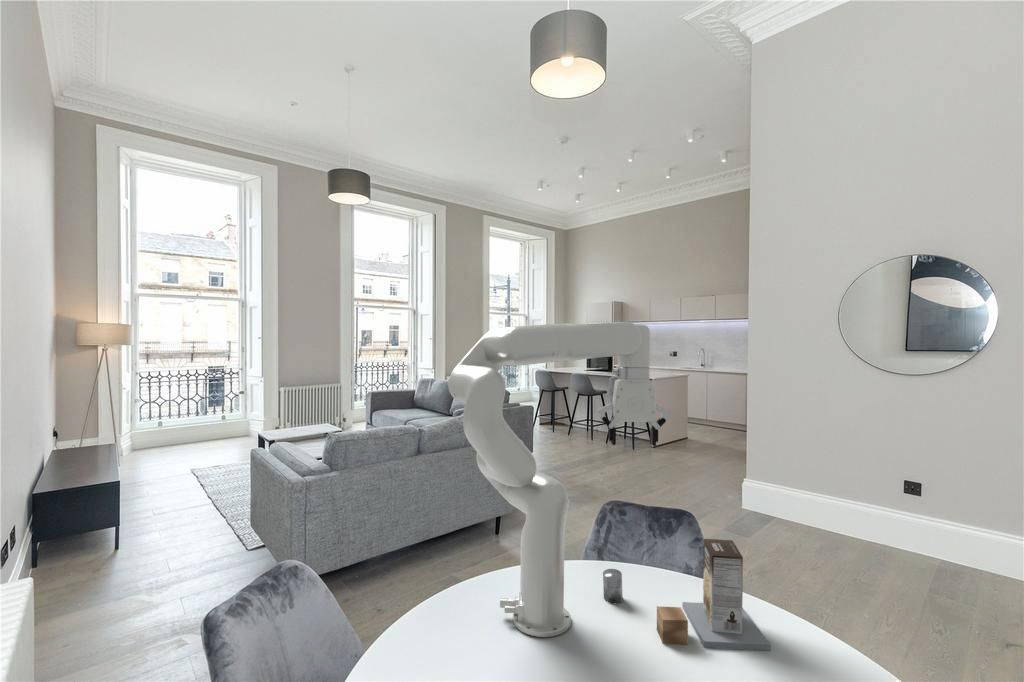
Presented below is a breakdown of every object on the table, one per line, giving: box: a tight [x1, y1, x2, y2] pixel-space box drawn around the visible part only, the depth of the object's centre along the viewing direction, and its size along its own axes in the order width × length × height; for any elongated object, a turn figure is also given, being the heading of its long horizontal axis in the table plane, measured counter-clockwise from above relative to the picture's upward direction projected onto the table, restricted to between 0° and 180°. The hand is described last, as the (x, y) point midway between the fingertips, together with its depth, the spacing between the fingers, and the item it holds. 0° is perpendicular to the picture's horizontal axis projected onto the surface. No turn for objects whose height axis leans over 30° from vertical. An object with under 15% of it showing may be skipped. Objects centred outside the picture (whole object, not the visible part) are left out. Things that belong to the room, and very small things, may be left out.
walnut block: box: [656, 606, 689, 646], centre depth 100 cm, size 5×5×5 cm
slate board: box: [682, 601, 772, 651], centre depth 104 cm, size 13×15×1 cm
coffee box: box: [702, 538, 744, 634], centre depth 104 cm, size 9×6×16 cm
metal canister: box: [602, 568, 623, 604], centre depth 115 cm, size 4×4×6 cm
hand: (633, 444), depth 119 cm, fingers open, 9 cm apart
